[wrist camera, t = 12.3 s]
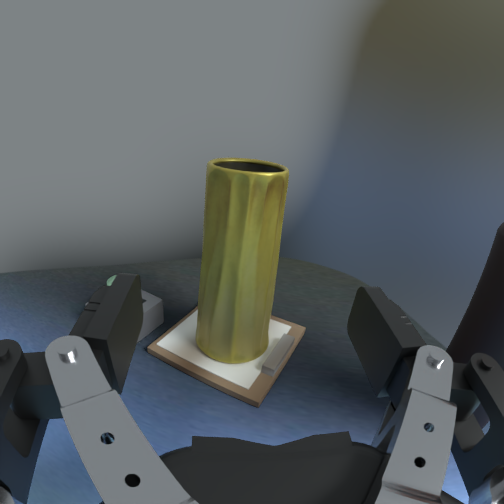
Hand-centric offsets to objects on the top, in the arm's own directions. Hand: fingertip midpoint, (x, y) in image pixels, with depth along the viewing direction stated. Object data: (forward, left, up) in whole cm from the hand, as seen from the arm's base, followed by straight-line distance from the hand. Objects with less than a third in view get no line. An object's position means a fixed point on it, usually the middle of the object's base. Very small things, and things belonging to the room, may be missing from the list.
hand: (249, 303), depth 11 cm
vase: (-5, +9, -11) cm, 16 cm away
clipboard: (-5, +10, -12) cm, 16 cm away
